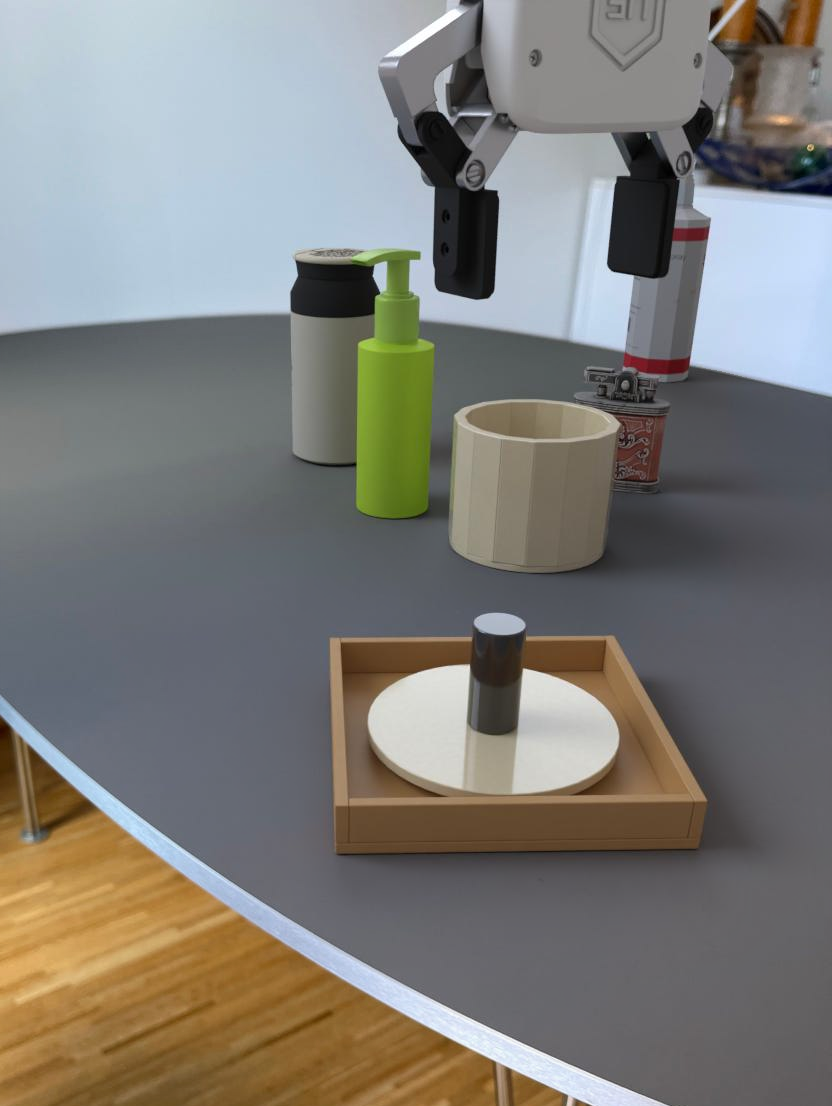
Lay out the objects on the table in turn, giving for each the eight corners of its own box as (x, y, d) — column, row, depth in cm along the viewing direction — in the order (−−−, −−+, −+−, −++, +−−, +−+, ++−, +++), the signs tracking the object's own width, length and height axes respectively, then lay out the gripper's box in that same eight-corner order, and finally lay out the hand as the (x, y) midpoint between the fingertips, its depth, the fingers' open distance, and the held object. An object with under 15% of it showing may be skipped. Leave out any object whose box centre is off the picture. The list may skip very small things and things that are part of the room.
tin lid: (585, 681, 60) (598, 571, 57) (648, 814, 49) (669, 686, 46) (361, 683, 60) (363, 572, 57) (372, 817, 48) (375, 689, 45)
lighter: (661, 484, 93) (677, 369, 89) (653, 496, 90) (670, 377, 86) (570, 472, 96) (582, 360, 92) (560, 482, 93) (572, 367, 89)
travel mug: (393, 451, 102) (398, 251, 94) (345, 472, 96) (347, 261, 88) (325, 437, 106) (324, 245, 97) (275, 456, 100) (270, 253, 92)
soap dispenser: (331, 507, 87) (331, 248, 78) (394, 490, 91) (401, 242, 82) (379, 526, 83) (384, 257, 74) (442, 508, 87) (455, 249, 78)
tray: (608, 675, 62) (614, 635, 61) (699, 849, 47) (708, 801, 46) (329, 677, 61) (329, 637, 60) (334, 854, 47) (334, 805, 46)
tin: (584, 516, 86) (597, 399, 82) (621, 572, 76) (639, 441, 71) (441, 516, 86) (446, 399, 81) (458, 573, 75) (466, 442, 71)
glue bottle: (610, 373, 132) (635, 151, 121) (645, 365, 136) (673, 150, 125) (664, 385, 127) (696, 154, 115) (699, 376, 131) (733, 152, 120)
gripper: (462, -291, 31) (442, 319, 39) (840, -212, 39) (761, 278, 47) (328, -230, 36) (334, 291, 44) (683, -172, 45) (635, 259, 52)
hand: (554, 284), depth 45 cm, fingers open, 9 cm apart
